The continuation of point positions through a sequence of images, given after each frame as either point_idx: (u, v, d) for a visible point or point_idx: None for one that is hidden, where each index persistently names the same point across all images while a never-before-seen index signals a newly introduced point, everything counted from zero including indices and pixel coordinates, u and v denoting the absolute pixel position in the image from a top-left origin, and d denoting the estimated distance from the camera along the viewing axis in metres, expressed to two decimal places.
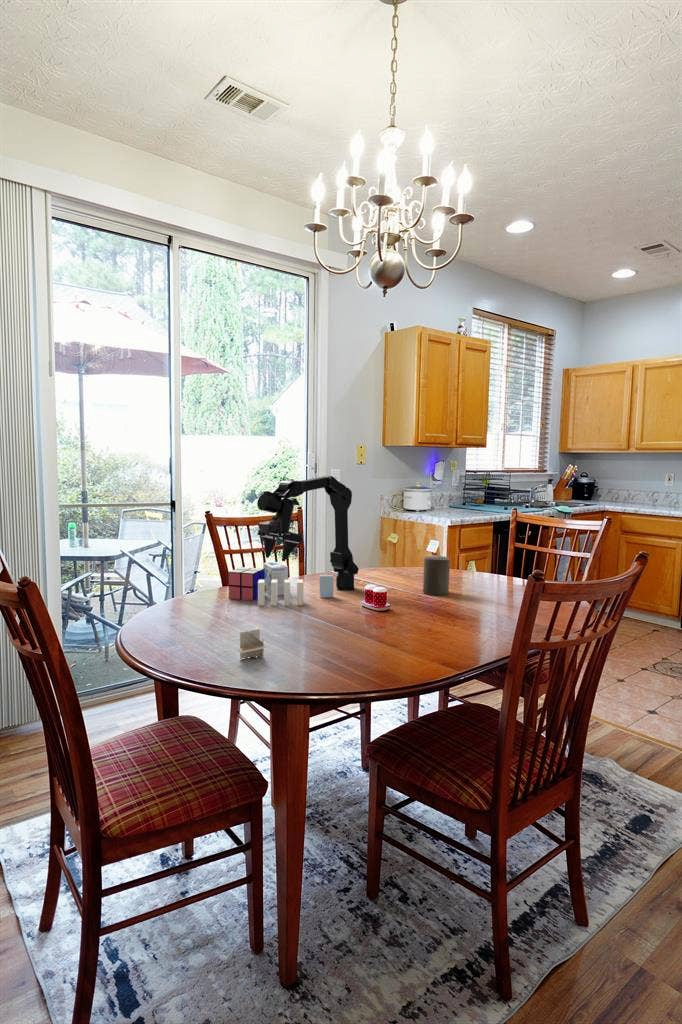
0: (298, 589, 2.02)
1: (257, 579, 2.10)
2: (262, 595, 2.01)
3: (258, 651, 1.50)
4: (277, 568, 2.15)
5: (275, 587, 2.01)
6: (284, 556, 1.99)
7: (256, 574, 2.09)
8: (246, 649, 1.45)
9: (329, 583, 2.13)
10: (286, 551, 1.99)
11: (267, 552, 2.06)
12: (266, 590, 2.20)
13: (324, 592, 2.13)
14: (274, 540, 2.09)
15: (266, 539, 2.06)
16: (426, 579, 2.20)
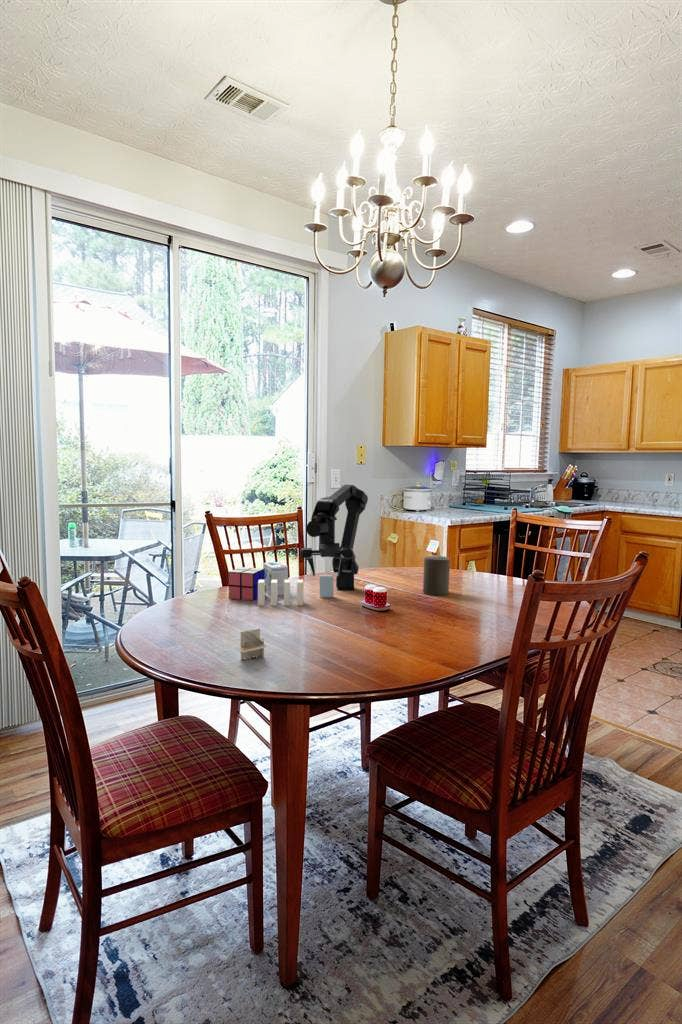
0: (298, 589, 2.02)
1: (257, 579, 2.10)
2: (262, 595, 2.01)
3: (258, 650, 1.50)
4: (277, 568, 2.15)
5: (275, 587, 2.01)
6: (341, 571, 2.13)
7: (256, 574, 2.09)
8: (247, 648, 1.45)
9: (329, 583, 2.13)
10: (342, 566, 2.13)
11: (314, 571, 2.13)
12: (266, 590, 2.20)
13: (324, 592, 2.13)
14: (312, 557, 2.15)
15: (312, 559, 2.11)
16: (426, 579, 2.20)
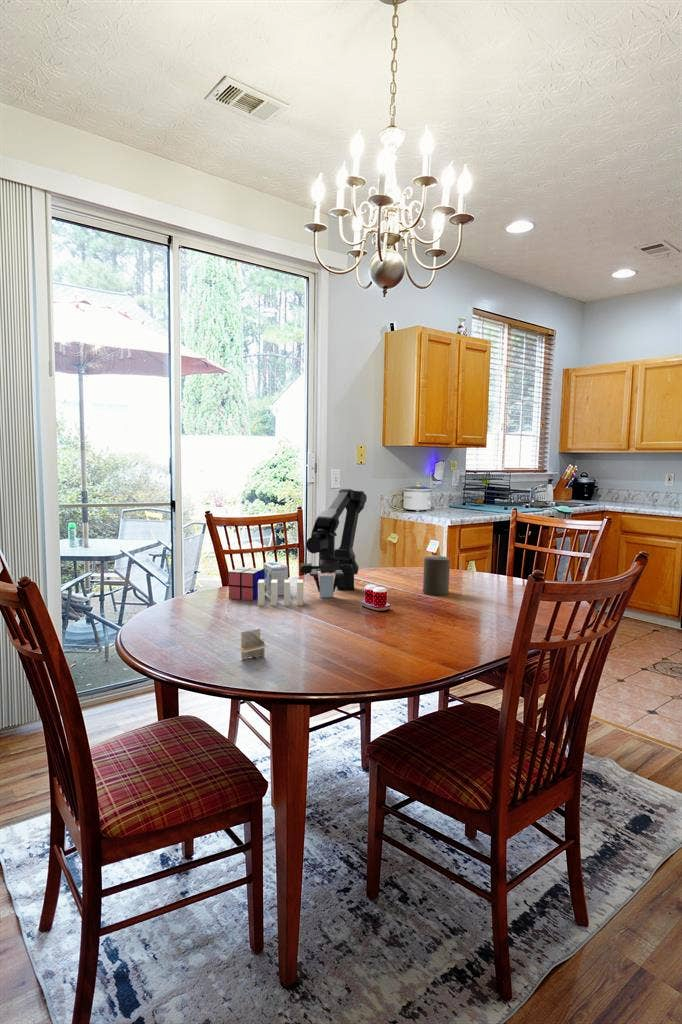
0: (298, 589, 2.02)
1: (257, 579, 2.10)
2: (262, 595, 2.01)
3: (259, 651, 1.50)
4: (277, 568, 2.15)
5: (275, 587, 2.01)
6: (335, 587, 2.14)
7: (256, 574, 2.09)
8: (248, 649, 1.45)
9: (329, 583, 2.13)
10: (337, 582, 2.13)
11: (319, 586, 2.13)
12: (266, 590, 2.20)
13: (324, 592, 2.13)
14: (317, 573, 2.15)
15: None
16: (426, 579, 2.20)
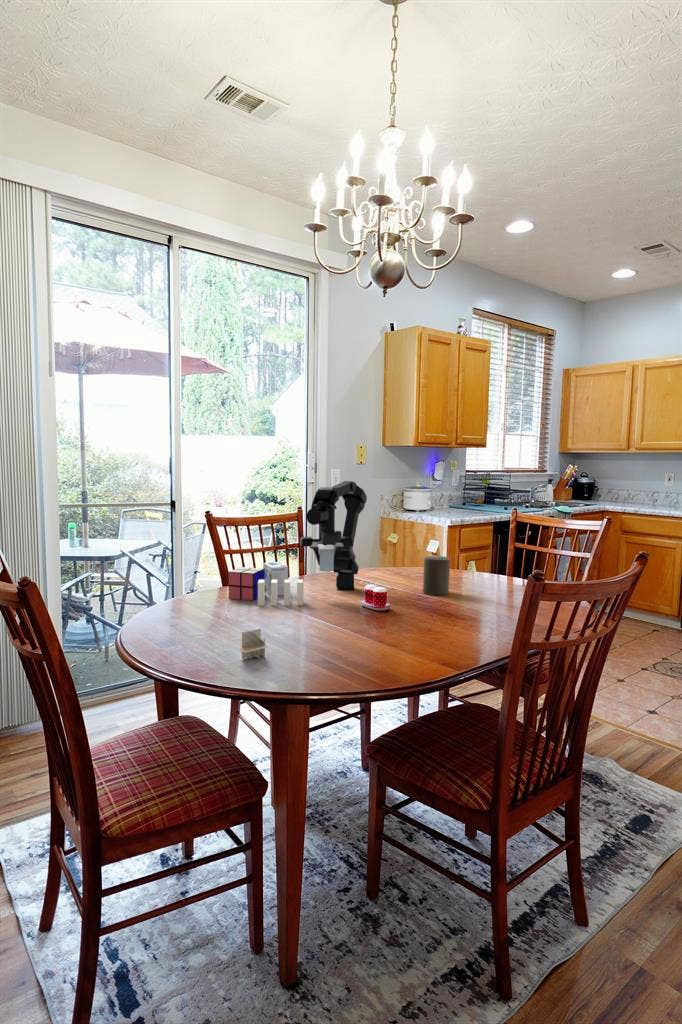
0: (298, 589, 2.02)
1: (257, 579, 2.10)
2: (262, 595, 2.01)
3: (259, 651, 1.50)
4: (277, 568, 2.15)
5: (275, 587, 2.01)
6: (335, 560, 2.12)
7: (256, 574, 2.09)
8: (249, 649, 1.45)
9: (329, 556, 2.11)
10: None
11: (319, 560, 2.11)
12: (266, 590, 2.20)
13: (324, 565, 2.11)
14: None
15: None
16: (426, 579, 2.20)
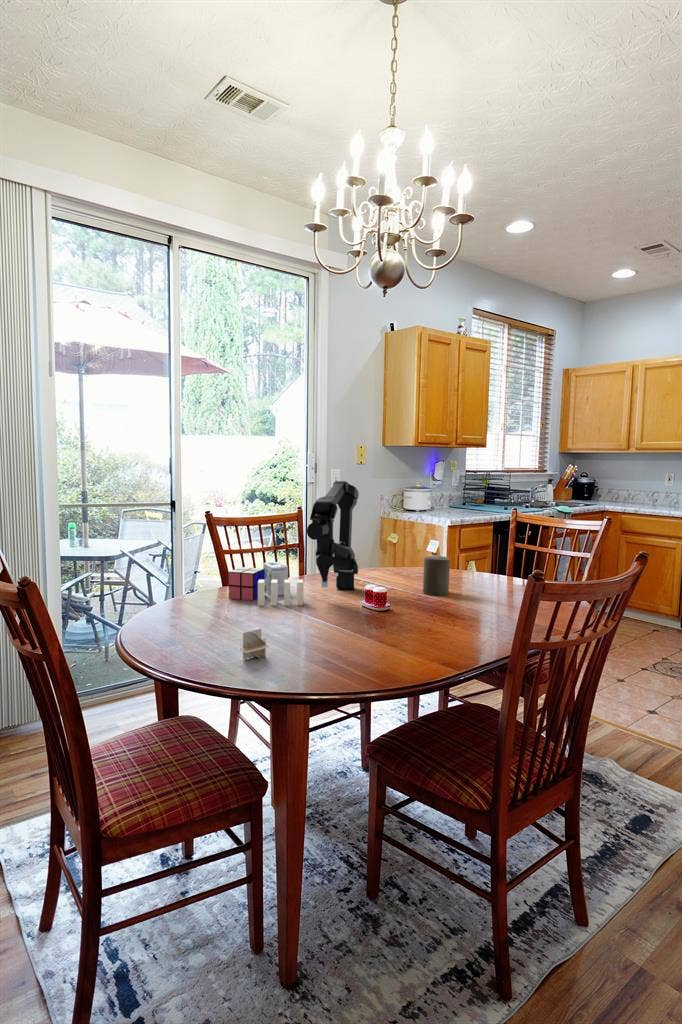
0: (298, 589, 2.02)
1: (257, 579, 2.10)
2: (262, 595, 2.01)
3: (260, 651, 1.50)
4: (277, 568, 2.15)
5: (275, 587, 2.01)
6: None
7: (256, 574, 2.09)
8: (250, 649, 1.45)
9: None
10: None
11: None
12: (266, 590, 2.20)
13: None
14: None
15: None
16: (426, 579, 2.20)
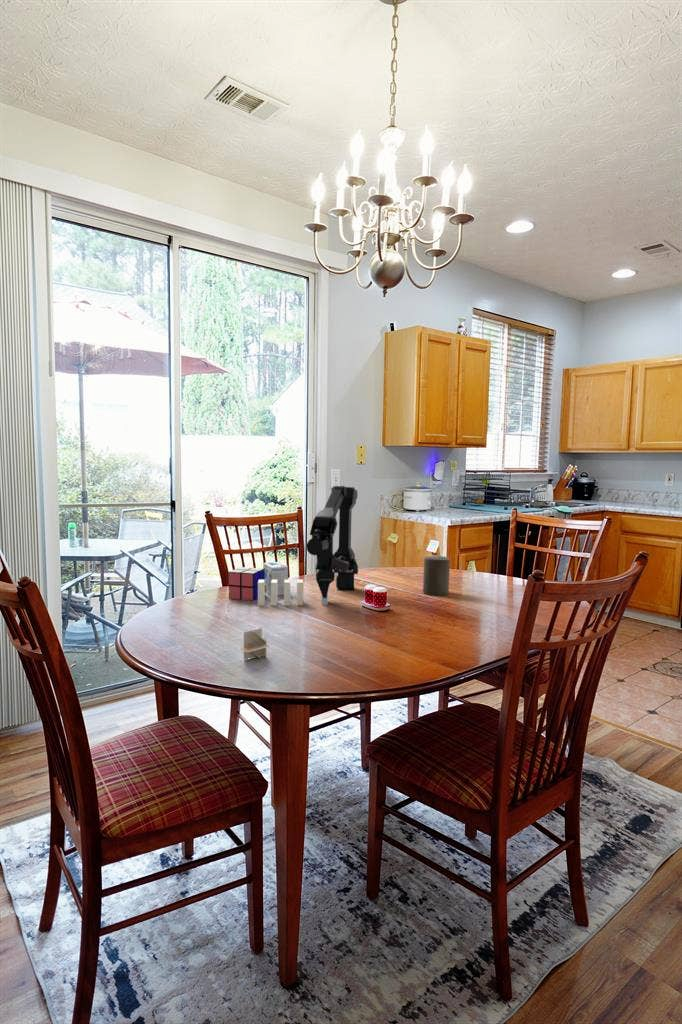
0: (298, 589, 2.02)
1: (257, 579, 2.10)
2: (262, 595, 2.01)
3: (260, 650, 1.50)
4: (277, 568, 2.15)
5: (275, 587, 2.01)
6: None
7: (256, 574, 2.09)
8: (251, 648, 1.45)
9: None
10: None
11: None
12: (266, 590, 2.20)
13: None
14: None
15: None
16: (426, 579, 2.20)
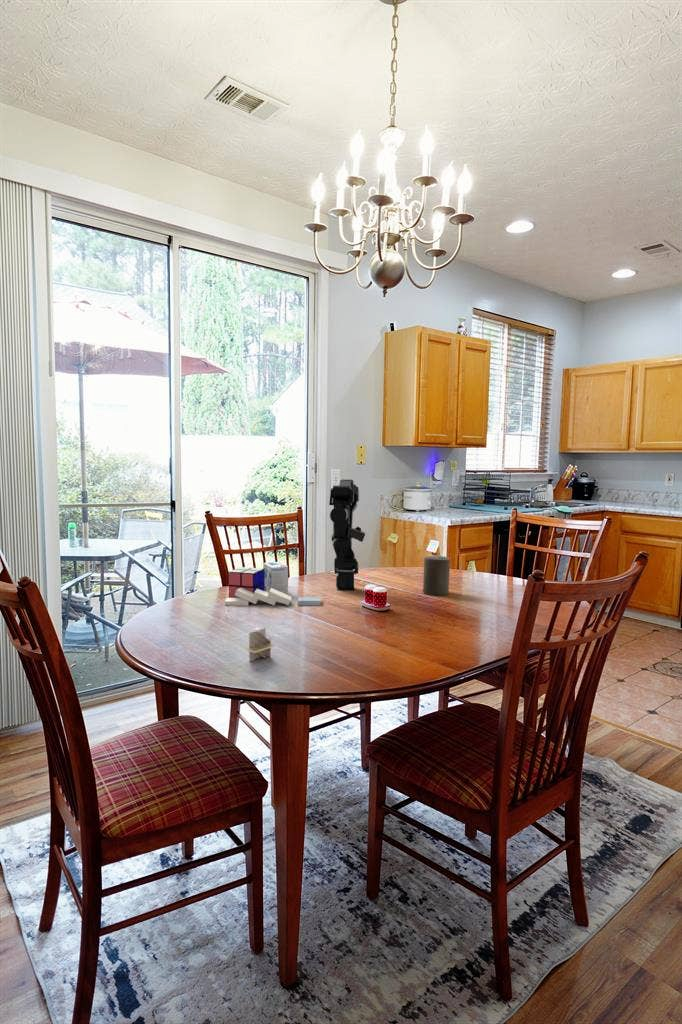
0: (274, 597, 2.01)
1: (257, 579, 2.10)
2: (237, 602, 2.01)
3: (264, 650, 1.50)
4: (277, 568, 2.15)
5: (240, 592, 2.02)
6: None
7: (256, 574, 2.09)
8: (257, 649, 1.45)
9: (305, 598, 2.06)
10: None
11: None
12: (266, 590, 2.20)
13: (315, 599, 2.04)
14: None
15: None
16: (426, 579, 2.20)
